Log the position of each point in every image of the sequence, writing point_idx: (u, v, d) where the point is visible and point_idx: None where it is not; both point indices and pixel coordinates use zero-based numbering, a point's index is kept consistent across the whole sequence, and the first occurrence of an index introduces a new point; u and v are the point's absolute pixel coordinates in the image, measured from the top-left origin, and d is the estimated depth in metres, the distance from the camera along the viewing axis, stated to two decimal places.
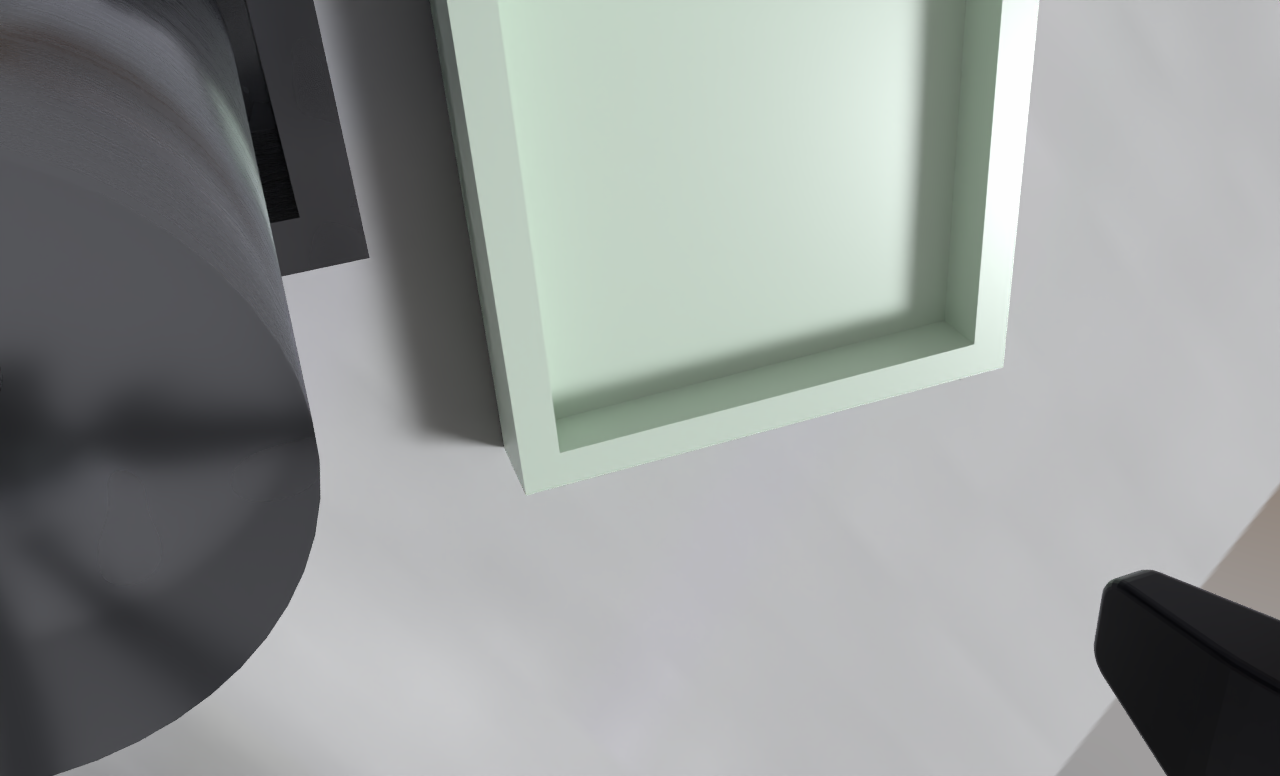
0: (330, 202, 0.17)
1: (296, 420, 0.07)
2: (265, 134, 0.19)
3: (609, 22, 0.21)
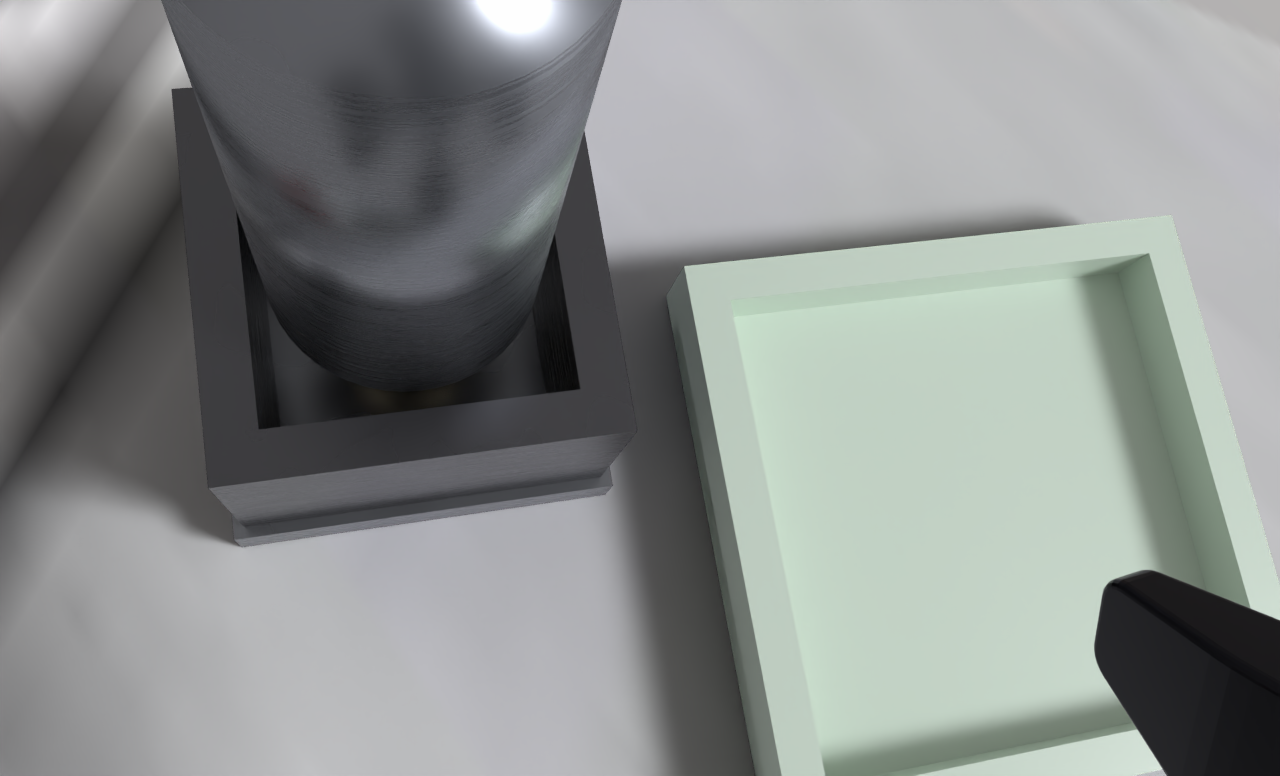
0: (606, 378, 0.19)
1: None
2: None
3: (830, 377, 0.25)
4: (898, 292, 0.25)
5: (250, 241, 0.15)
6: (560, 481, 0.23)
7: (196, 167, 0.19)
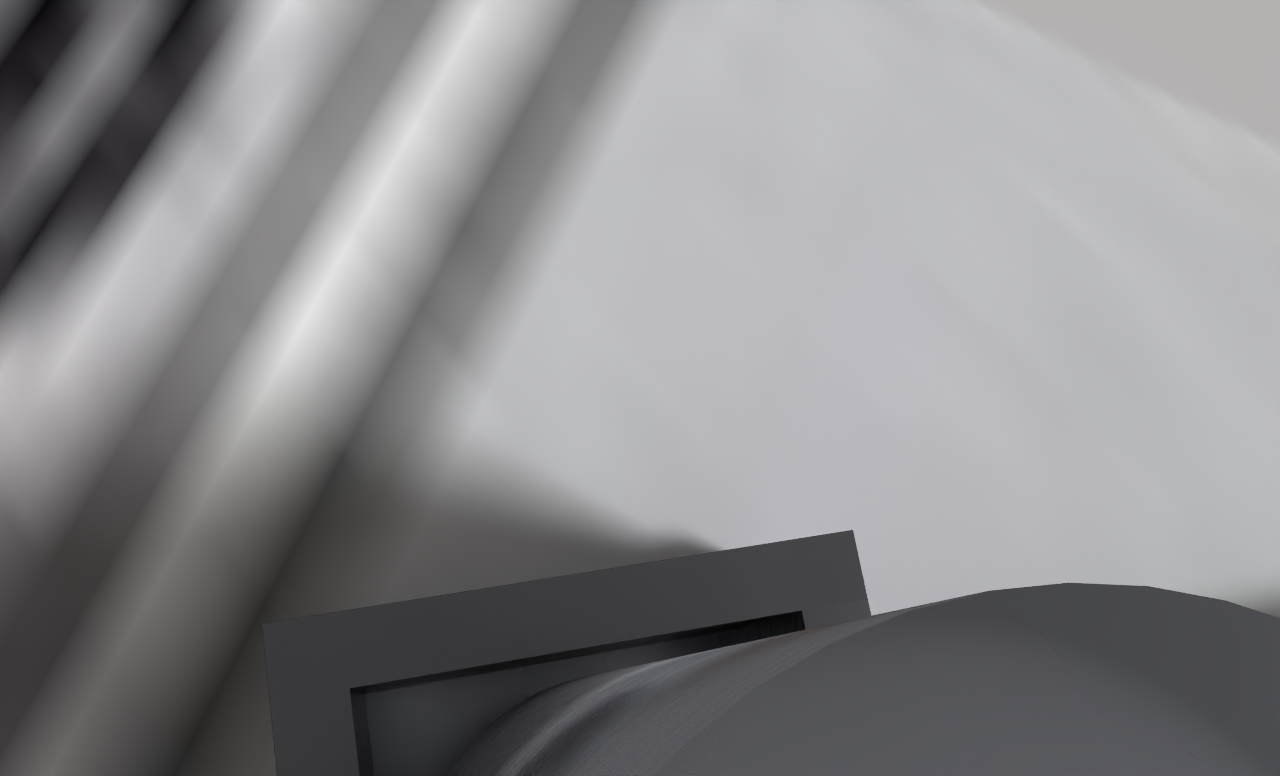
0: None
1: None
2: None
3: None
4: None
5: None
6: None
7: (302, 758, 0.12)
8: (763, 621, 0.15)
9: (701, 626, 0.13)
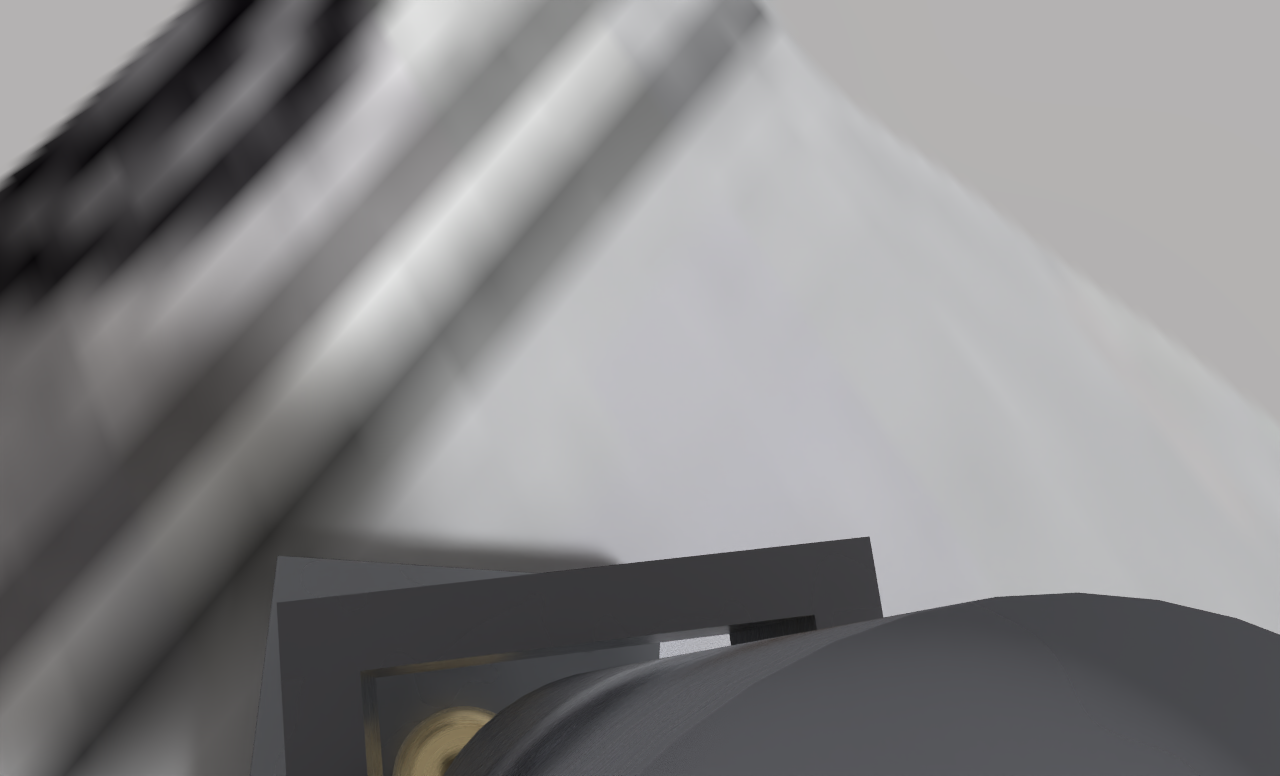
0: None
1: None
2: None
3: None
4: None
5: None
6: None
7: (311, 737, 0.12)
8: (775, 624, 0.15)
9: (713, 626, 0.13)
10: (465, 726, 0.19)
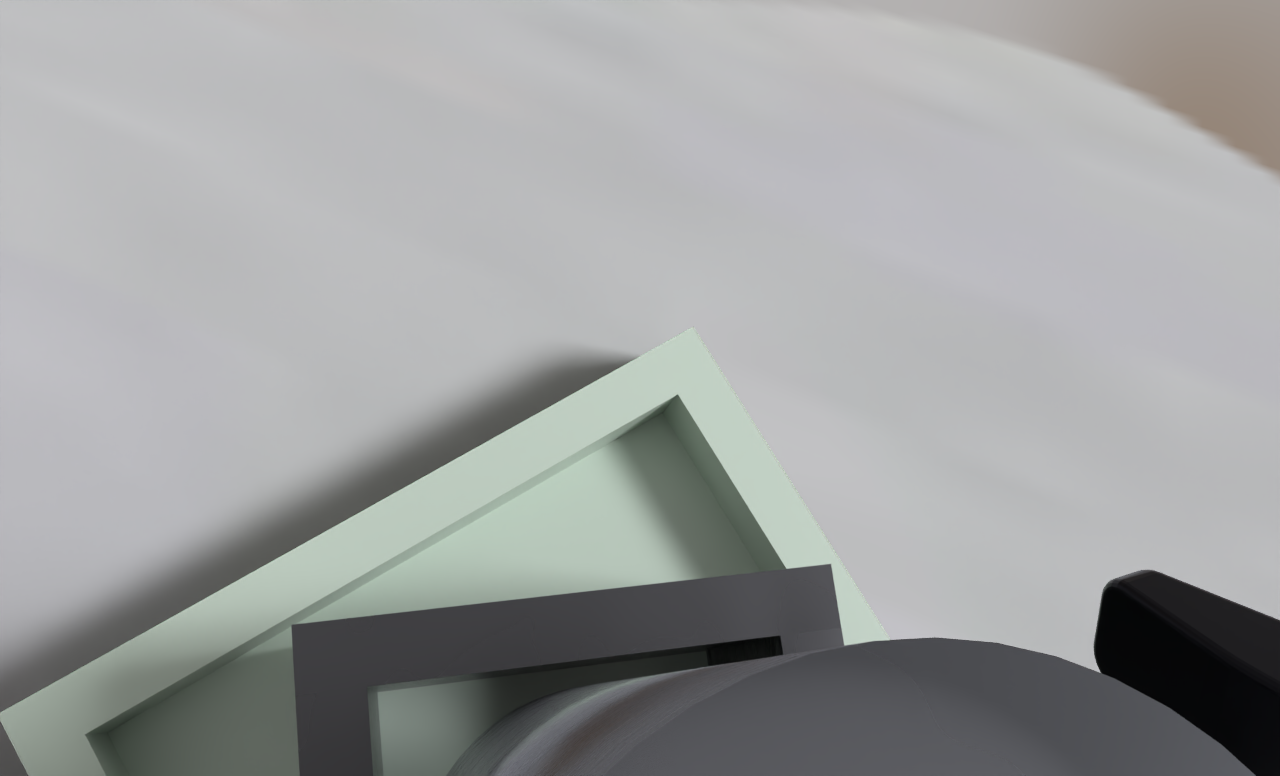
0: None
1: None
2: None
3: None
4: (357, 585, 0.18)
5: None
6: None
7: (322, 747, 0.14)
8: (747, 643, 0.16)
9: (688, 645, 0.15)
10: None
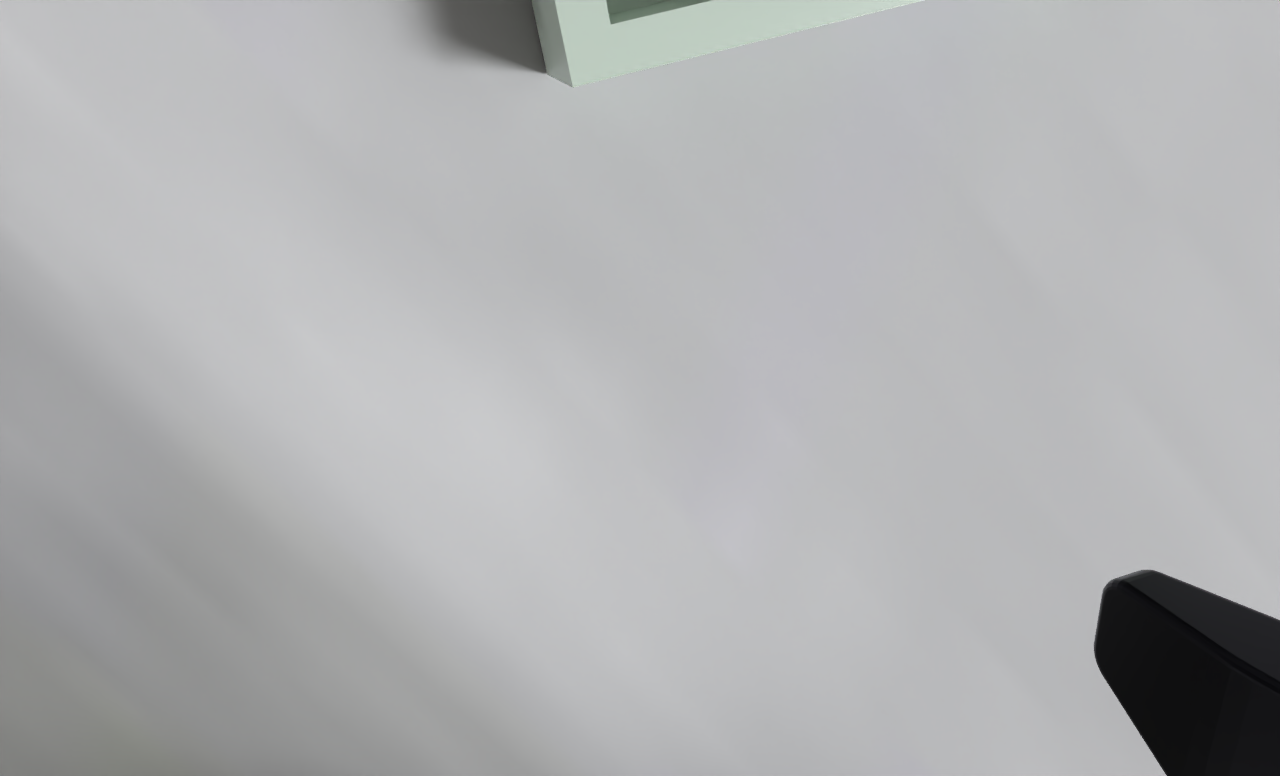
0: None
1: None
2: None
3: None
4: None
5: None
6: None
7: None
8: None
9: None
10: None
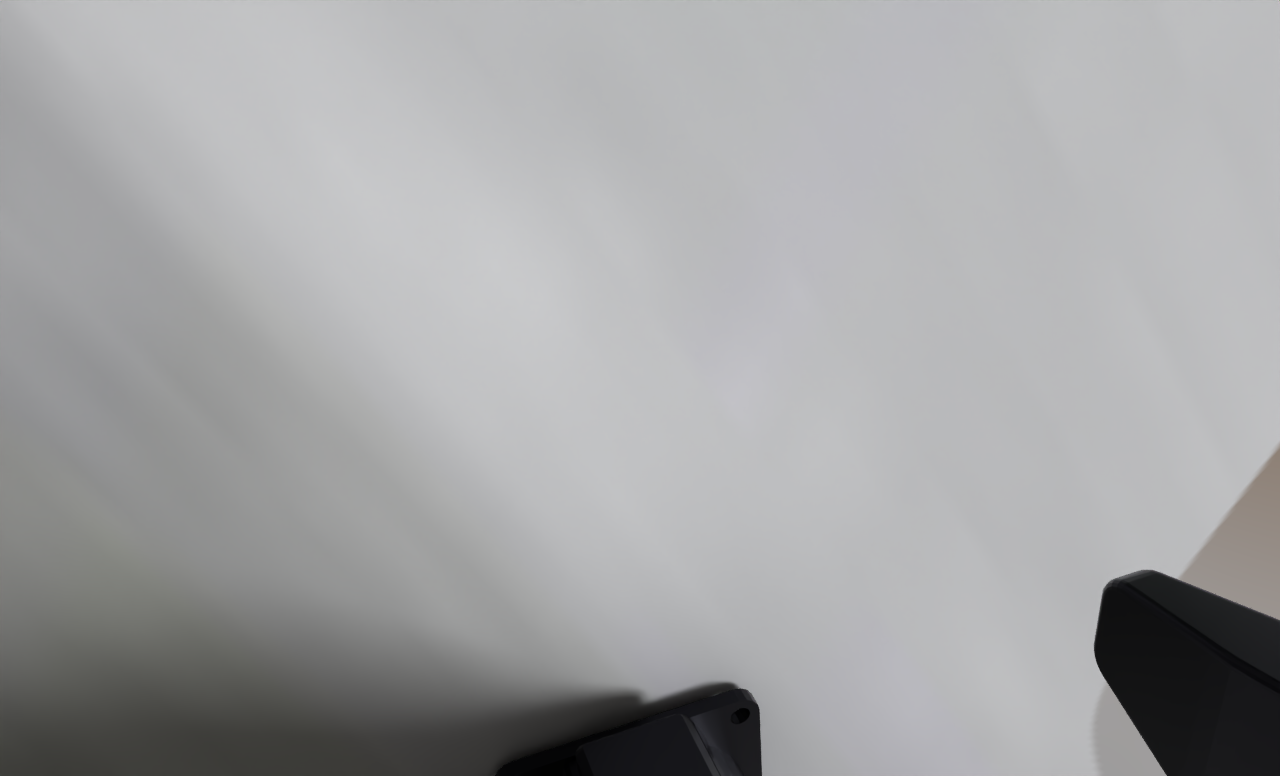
0: None
1: None
2: None
3: None
4: None
5: None
6: None
7: None
8: None
9: None
10: None
